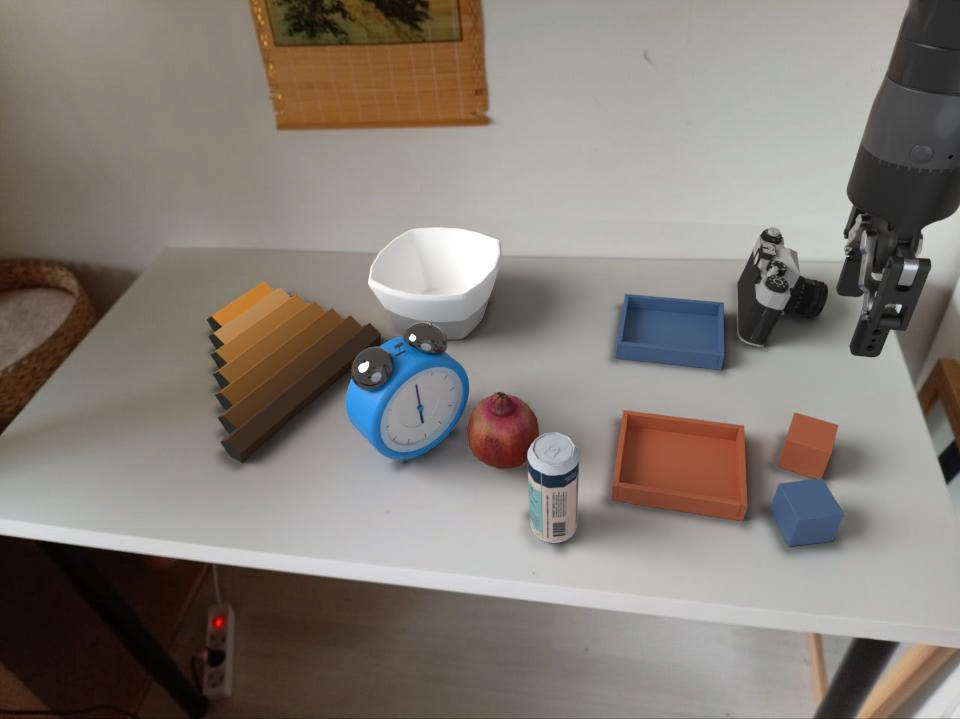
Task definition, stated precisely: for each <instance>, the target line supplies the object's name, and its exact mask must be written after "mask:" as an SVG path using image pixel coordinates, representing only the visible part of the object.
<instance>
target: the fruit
mask: <svg viewBox="0 0 960 719" xmlns="http://www.w3.org/2000/svg"><path fill="white" fill-rule="evenodd" d="M465 429H466V430H465V431H466V437H467V438H466V439H467V443H468V447H469V449H470V451H471V454H472V455H473V457H475V458H476V460H478V461H479V462H481V463H483V464H484V465H486V466H489V467H491V468H494V469H498V470H513V469H515V468H519V467H522V466H524V465H525V464H526V463H528V458H527V456H528V450H529V448H530V446H531V444H532V443H533V442H534V440H535V439H536V438H538V437H539V436H541V435H540V426H539V420H538V417H537V415H536V413H535V412H534V411H533V409H532V408H531V407H530V405H529V404H528V403H527V402H525V401H524V400H522V399H521V398H520V397H518V396H515V395H512V394H507V393H505V392H503V391H497V392H493V394H492V395H490V396H487V397H485V398H483V399H480V401H479V402H478V403H477V404H476V405H475V406H474V407H472V409H471V411H470V414H469V418H468V421H467V423H466V428H465Z"/></svg>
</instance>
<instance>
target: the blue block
mask: <svg viewBox="0 0 960 719" xmlns="http://www.w3.org/2000/svg"><path fill="white" fill-rule="evenodd" d="M769 512H770V514H771V516H772V518H773V519H774V522H775V524H776V526H777V527H778V530H779V532H780V534H781V536H782V537H783V539H784V541H785V544H786V546H787V547H789V548H791V547H797V546H805V545H813V544H821V543H822V544H823V543H829V542H833V540H834V538H835V535H836V534H837V532H838V529H839V527H840V525H841V522H842V520H843V518H844V516H845V512H844V511H843V510H842V508H841V506H840V505H839V502H838V501H837V500H836V498H835V497H834V495H833V494H832V491H831V490H830V488H829V487H828V485H827V483H826V481H825V480H824V479H823V477H822V478H819V479H814V478H812V479H804V480H803V479H802V480H796V481H787V482H779V483H778V484H777V488H776V490H775V493H774V495H773V499H772V502H771V505H770V507H769Z"/></svg>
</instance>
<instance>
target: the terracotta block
mask: <svg viewBox="0 0 960 719" xmlns="http://www.w3.org/2000/svg"><path fill="white" fill-rule="evenodd" d="M838 430H839V424H837V423H833V422H829V421H826V420H823V419H819V418H817V417H811V416H809V415H805V414H802V413H798V412H794V413H793V415H792V419H791V421H790V424H789V427H788V431H787V433H786V437H785V440H784V443H783V445H782V446H783V447H782V449H781V453H780V455H779V459H778V463H777V467H778V468H781V469H783V470H787V471H790V472H792V473H796V474H799V475H802V476H805V477H808V478H812V479H819V478H822V479H823V476H824V473H825V471H826V468H827V466H828V464H829V461H830V459H831V456H832V453H833V449H834V445H835V441H836V437H837V433H838Z"/></svg>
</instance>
